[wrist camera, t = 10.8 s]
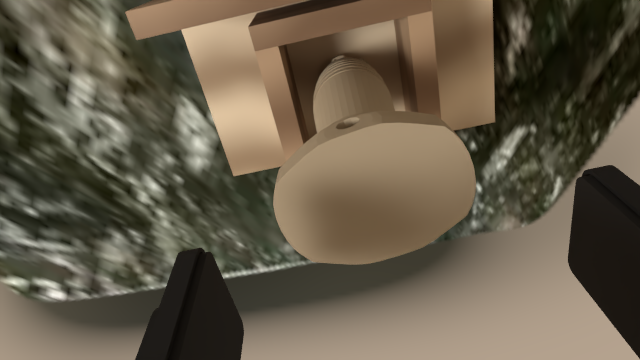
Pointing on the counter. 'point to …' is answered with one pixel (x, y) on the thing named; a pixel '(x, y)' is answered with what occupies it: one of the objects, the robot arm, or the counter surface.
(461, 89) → the wooden box holder
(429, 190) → the handle
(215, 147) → the counter surface
